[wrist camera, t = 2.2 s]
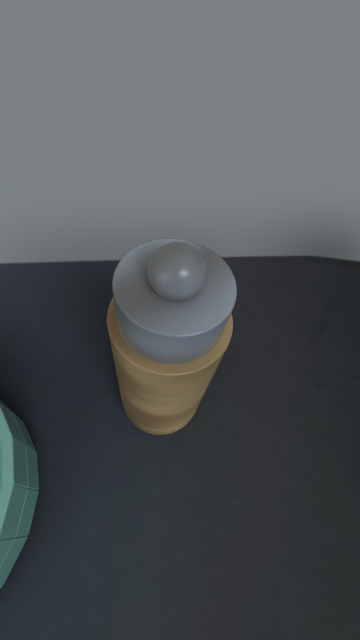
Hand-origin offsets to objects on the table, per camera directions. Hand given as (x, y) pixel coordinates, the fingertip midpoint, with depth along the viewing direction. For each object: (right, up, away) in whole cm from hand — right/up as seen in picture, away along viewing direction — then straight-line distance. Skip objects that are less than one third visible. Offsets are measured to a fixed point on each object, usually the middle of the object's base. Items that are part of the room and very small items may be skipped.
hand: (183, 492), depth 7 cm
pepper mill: (-1, -1, +14) cm, 14 cm away
